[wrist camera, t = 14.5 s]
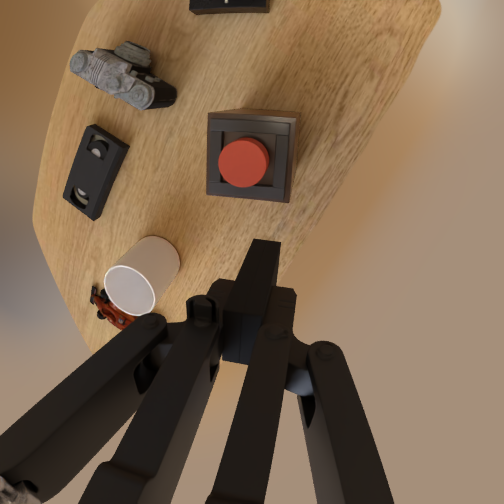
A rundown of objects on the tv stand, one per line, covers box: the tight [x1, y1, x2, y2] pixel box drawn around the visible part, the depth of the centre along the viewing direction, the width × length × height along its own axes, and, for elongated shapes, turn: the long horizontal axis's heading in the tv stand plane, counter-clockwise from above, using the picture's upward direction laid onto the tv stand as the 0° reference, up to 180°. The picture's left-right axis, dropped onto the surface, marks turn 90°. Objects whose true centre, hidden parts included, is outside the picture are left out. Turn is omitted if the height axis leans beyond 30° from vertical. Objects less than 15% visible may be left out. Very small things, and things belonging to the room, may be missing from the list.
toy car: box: [90, 286, 139, 330], centre depth 59 cm, size 8×16×4 cm, turn 63°
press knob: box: [218, 138, 269, 187], centre depth 27 cm, size 4×4×2 cm
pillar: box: [206, 108, 301, 203], centre depth 35 cm, size 8×8×16 cm
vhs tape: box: [63, 124, 130, 221], centre depth 47 cm, size 14×8×2 cm, turn 147°
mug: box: [104, 236, 180, 316], centre depth 50 cm, size 9×12×11 cm
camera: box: [70, 41, 177, 110], centre depth 35 cm, size 15×7×10 cm, turn 56°
